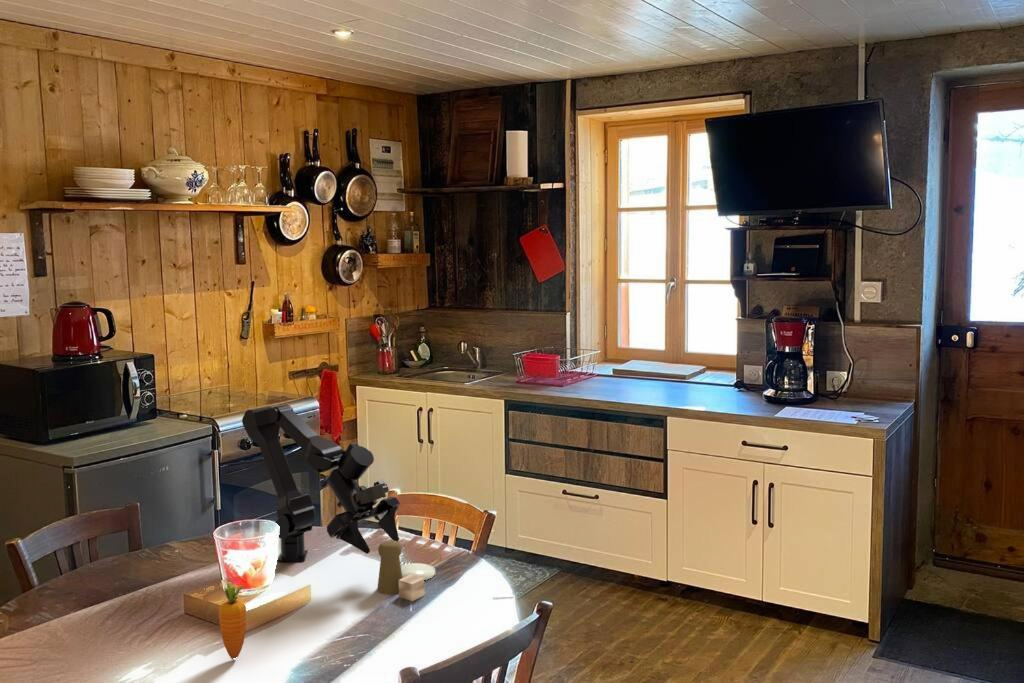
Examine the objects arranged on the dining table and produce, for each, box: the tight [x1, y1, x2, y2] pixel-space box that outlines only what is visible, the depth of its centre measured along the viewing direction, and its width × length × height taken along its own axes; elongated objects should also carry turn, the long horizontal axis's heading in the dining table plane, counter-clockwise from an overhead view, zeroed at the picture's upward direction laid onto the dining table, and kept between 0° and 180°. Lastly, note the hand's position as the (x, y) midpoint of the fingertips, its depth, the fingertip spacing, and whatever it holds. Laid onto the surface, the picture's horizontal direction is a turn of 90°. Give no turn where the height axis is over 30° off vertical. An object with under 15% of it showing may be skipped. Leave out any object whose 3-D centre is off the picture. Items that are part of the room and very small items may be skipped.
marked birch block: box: [398, 575, 426, 602], centre depth 198 cm, size 4×4×4 cm
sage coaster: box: [401, 562, 436, 581], centre depth 211 cm, size 10×10×1 cm
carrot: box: [218, 581, 247, 659], centre depth 168 cm, size 5×5×15 cm
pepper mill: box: [376, 539, 403, 595], centre depth 202 cm, size 6×6×11 cm
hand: (383, 546), depth 203 cm, fingers open, 9 cm apart
